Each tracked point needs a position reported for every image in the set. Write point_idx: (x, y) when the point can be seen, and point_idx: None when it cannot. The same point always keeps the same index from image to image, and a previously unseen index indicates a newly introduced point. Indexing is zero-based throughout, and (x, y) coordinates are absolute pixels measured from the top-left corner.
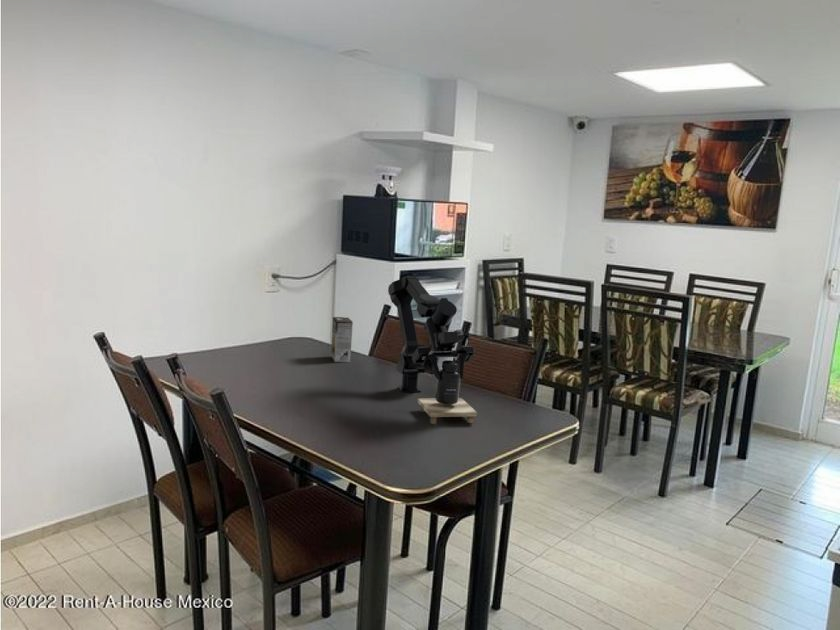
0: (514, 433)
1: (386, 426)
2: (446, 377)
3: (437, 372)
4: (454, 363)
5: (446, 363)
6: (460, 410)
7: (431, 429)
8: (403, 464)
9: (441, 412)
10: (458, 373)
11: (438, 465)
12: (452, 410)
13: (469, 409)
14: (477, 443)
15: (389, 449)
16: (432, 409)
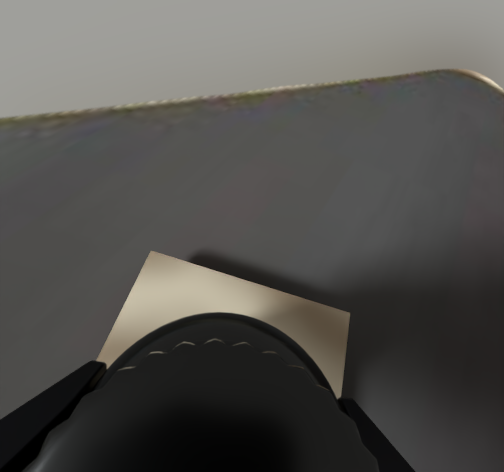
0: (113, 158)
1: (484, 364)
2: (306, 353)
3: (407, 464)
4: (184, 406)
5: (369, 454)
6: (203, 298)
7: (342, 280)
8: (473, 137)
9: (302, 303)
10: (151, 347)
11: (408, 110)
12: (239, 310)
13: (153, 294)
14: (269, 150)
15: (492, 203)
16: (322, 357)
